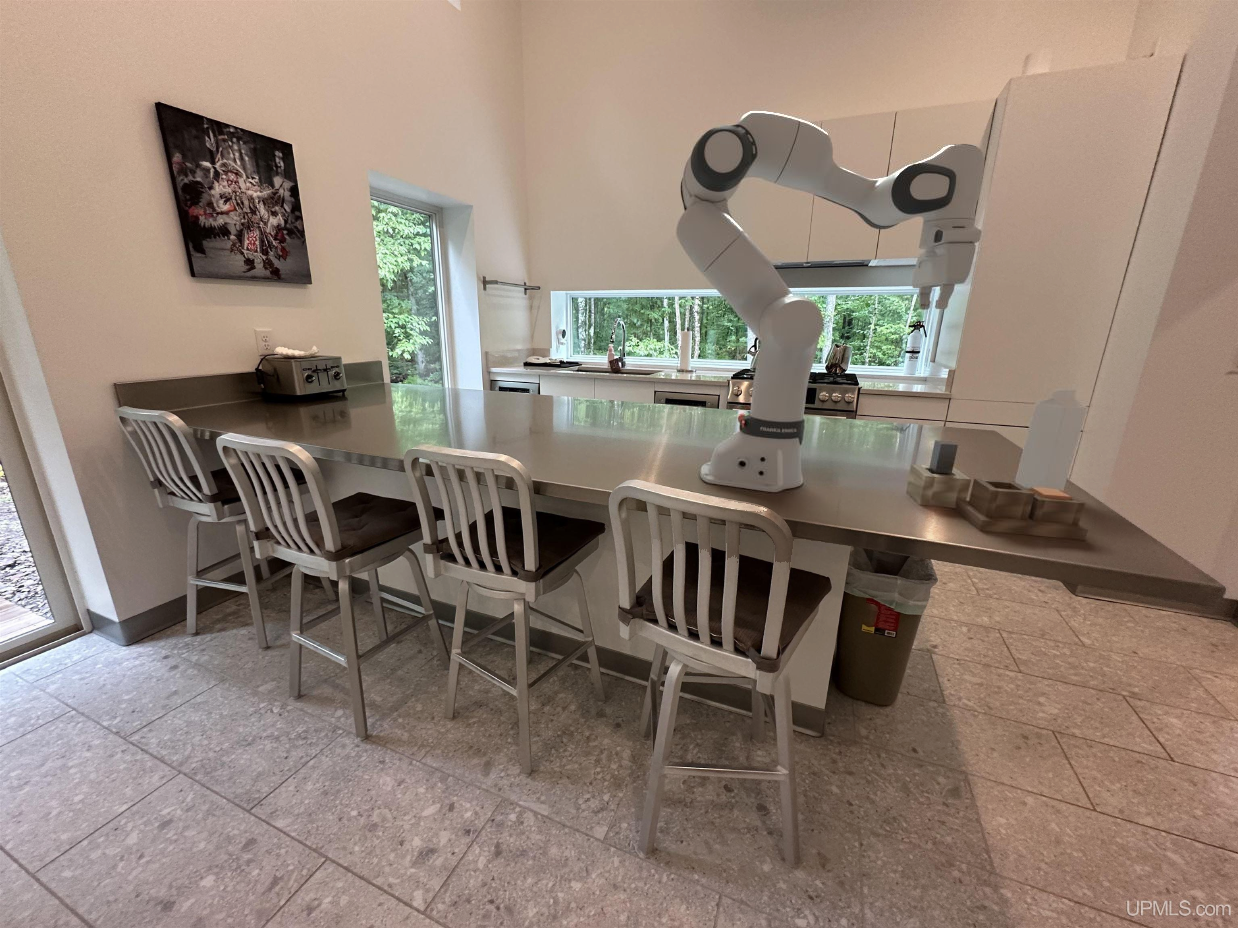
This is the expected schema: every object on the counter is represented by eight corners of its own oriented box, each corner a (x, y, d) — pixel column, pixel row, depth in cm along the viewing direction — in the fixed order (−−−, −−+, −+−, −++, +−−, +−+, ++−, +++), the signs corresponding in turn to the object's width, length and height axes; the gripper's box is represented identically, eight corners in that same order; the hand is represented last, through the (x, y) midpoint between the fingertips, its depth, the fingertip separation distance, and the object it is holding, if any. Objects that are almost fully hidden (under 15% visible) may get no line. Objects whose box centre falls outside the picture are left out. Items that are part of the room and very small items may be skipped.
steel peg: (928, 501, 101) (941, 443, 97) (923, 496, 104) (935, 440, 100) (945, 502, 100) (958, 444, 97) (939, 497, 103) (951, 441, 100)
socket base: (979, 530, 88) (988, 492, 86) (955, 509, 97) (963, 475, 95) (1085, 540, 85) (1097, 501, 83) (1049, 517, 94) (1059, 482, 92)
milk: (1012, 488, 110) (1037, 387, 104) (1033, 486, 111) (1059, 387, 105) (1041, 498, 104) (1069, 392, 98) (1063, 496, 106) (1092, 391, 99)
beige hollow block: (919, 504, 99) (925, 475, 97) (906, 491, 107) (911, 464, 105) (964, 508, 98) (971, 479, 96) (947, 494, 105) (953, 467, 103)
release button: (1038, 515, 88) (1044, 494, 87) (1025, 507, 92) (1031, 487, 90) (1064, 518, 87) (1071, 496, 86) (1050, 509, 91) (1056, 488, 90)
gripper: (910, 245, 112) (899, 309, 116) (948, 230, 93) (933, 308, 97) (941, 244, 111) (929, 310, 115) (986, 230, 92) (970, 309, 96)
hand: (931, 309), depth 106 cm, fingers open, 8 cm apart
